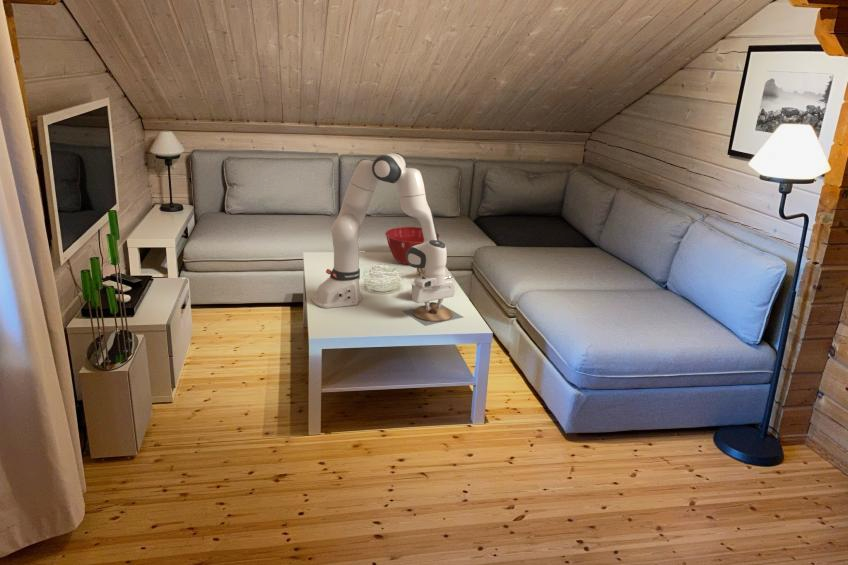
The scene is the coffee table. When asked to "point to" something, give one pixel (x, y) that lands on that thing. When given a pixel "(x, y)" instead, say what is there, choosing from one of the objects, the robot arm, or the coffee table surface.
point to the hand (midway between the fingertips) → (433, 309)
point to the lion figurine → (421, 271)
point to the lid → (433, 313)
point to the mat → (410, 313)
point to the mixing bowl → (403, 241)
